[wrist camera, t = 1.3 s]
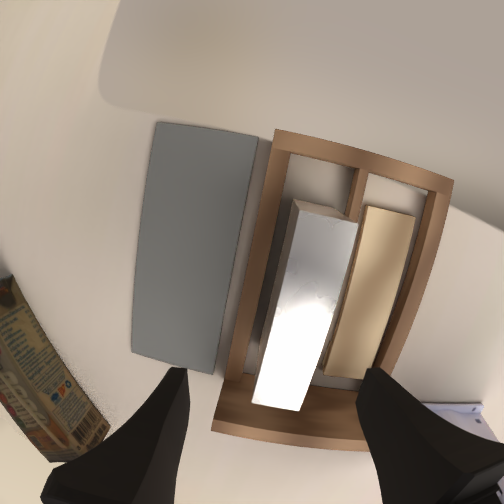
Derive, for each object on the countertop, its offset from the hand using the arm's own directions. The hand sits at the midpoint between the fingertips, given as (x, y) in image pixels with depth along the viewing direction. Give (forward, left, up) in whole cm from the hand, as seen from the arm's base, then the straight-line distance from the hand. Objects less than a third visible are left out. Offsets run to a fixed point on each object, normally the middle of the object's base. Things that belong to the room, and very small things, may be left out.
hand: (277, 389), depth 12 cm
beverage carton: (+22, +14, -12) cm, 28 cm away
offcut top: (-6, -1, -11) cm, 13 cm away
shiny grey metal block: (-1, -1, -11) cm, 11 cm away
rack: (-4, -1, -11) cm, 12 cm away
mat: (+7, -1, -11) cm, 13 cm away
